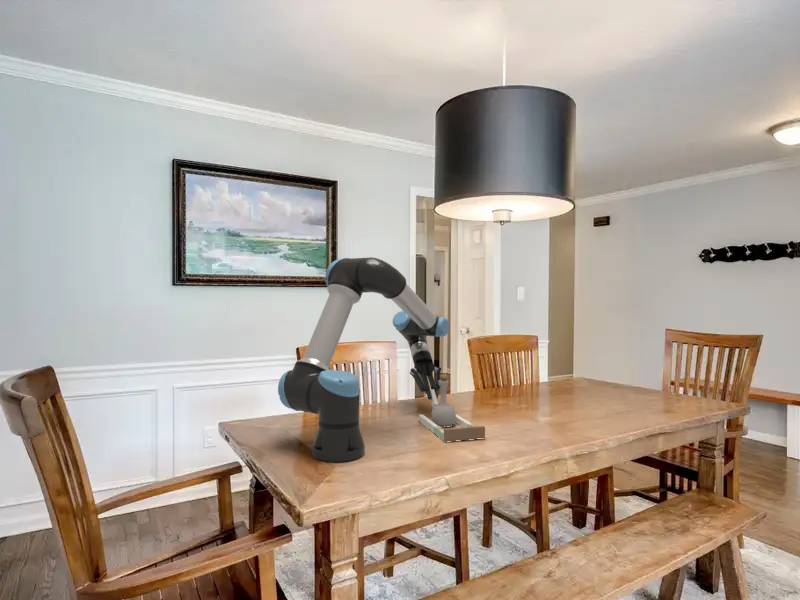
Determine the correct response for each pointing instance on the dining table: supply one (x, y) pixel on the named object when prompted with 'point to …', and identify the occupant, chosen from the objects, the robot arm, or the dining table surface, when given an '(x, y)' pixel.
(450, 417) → the potion bottle
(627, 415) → the dining table surface
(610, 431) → the dining table surface
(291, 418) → the dining table surface
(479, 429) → the slot track
